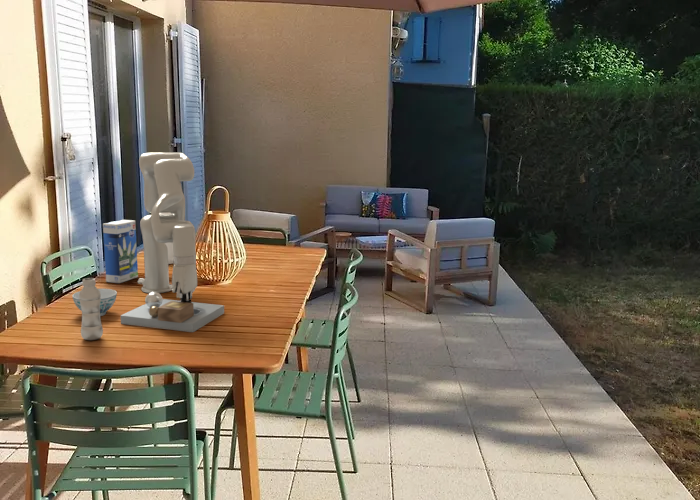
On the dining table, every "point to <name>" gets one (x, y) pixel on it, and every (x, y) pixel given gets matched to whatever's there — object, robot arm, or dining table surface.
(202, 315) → the hole board
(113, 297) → the chinaware
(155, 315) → the bronze ball
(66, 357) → the dining table surface
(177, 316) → the walnut cover
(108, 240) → the string lights box
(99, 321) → the plastic bottle
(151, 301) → the steel boule
